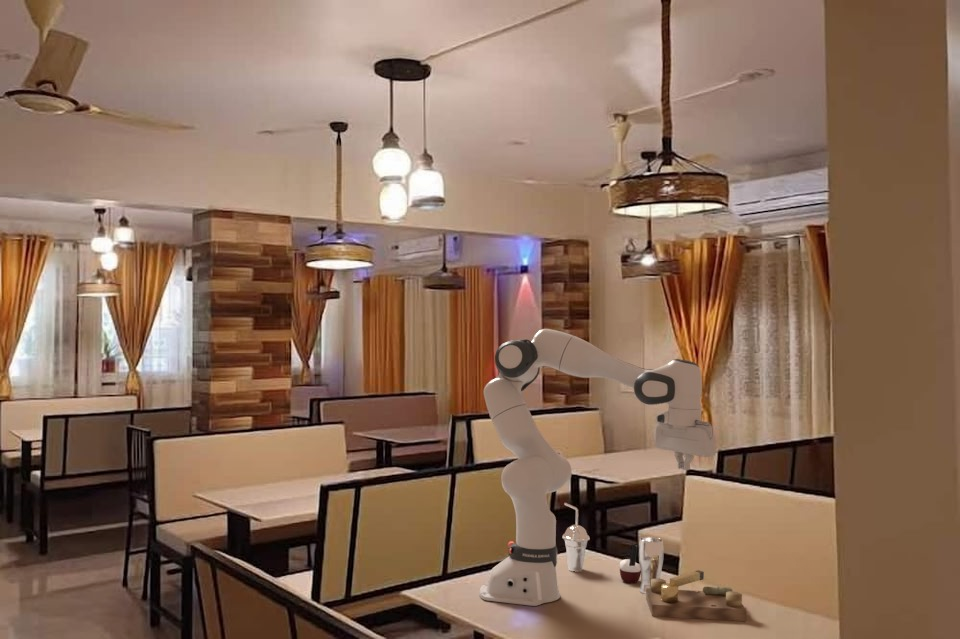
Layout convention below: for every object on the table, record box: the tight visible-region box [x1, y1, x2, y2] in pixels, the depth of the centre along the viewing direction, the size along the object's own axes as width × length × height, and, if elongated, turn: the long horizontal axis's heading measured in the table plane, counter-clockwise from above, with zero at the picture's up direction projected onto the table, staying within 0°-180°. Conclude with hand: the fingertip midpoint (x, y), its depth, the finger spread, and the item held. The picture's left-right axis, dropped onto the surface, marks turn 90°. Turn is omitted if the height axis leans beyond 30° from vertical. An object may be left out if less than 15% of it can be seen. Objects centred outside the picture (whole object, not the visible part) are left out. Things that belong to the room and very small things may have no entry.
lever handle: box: [661, 570, 705, 602], centre depth 222 cm, size 16×4×5 cm, turn 130°
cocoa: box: [619, 544, 641, 584], centre depth 245 cm, size 10×6×12 cm, turn 162°
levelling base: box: [645, 578, 747, 622], centre depth 221 cm, size 24×14×6 cm, turn 85°
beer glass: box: [638, 536, 665, 595], centre depth 236 cm, size 7×7×15 cm
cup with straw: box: [562, 502, 590, 573], centre depth 257 cm, size 8×9×20 cm
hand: (683, 469), depth 225 cm, fingers closed
